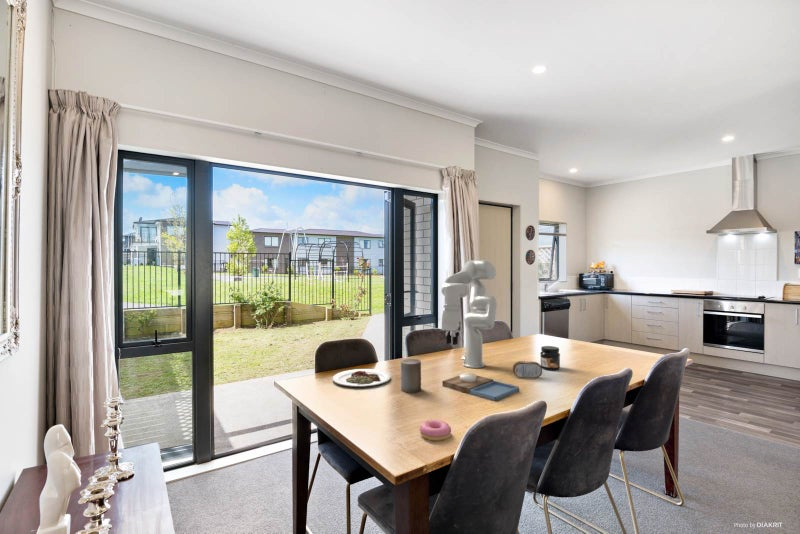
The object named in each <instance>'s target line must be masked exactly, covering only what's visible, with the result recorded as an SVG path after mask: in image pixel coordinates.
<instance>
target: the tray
mask: <svg viewBox="0 0 800 534" xmlns="http://www.w3.org/2000/svg"><path fill="white" fill-rule="evenodd" d="M518 392H520V387H519V386H518V385H517V386H516V385H514V384H510V383H504V382H501V381H497V380H493V381H491V382H489V383H486V384H483V385H481V386H478V387H475V388H473V389H470V394H469V395H471V396H475V397H480V398H482V399H486V400H489V401H493V402H498V401H499V400H502V399H504V398H506V397H509V396H511V395H514V394H516V393H518Z"/></svg>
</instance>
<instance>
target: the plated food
mask: <svg viewBox="0 0 800 534" xmlns="http://www.w3.org/2000/svg"><path fill="white" fill-rule="evenodd" d="M389 380H391V374H390V373H389V372H387V371H384V370H379V369H373V368H371V369H370V368H355V369H349V370H344V371H340V372H338V373H336V374H334V375H333V377H332V381H333V382H334V383H335V384H338V385H341V386H346V387H353V388H361V387H362V388H365V387H366V388H367V387H372V386H373V387H374V386H377V385H382V384H384V383H387V382H388V381H389Z"/></svg>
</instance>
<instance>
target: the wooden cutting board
mask: <svg viewBox="0 0 800 534" xmlns="http://www.w3.org/2000/svg"><path fill="white" fill-rule="evenodd" d="M475 375H476V374H475ZM491 381H494V379H493V378H489V377H485V376H482V375H481V376H480V375H476V382H472V383H466V382H462V381H460V375H457V376H453V377H450V378H446V379H444V380H442V383H441V384H442V387H445V388H447V389H452V390H455V391H459V392H461V393H465V394H469V395H471V394H470V389H473V388H475V387H478V386H481V385H483V384H486V383H489V382H491Z"/></svg>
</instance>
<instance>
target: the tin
mask: <svg viewBox="0 0 800 534" xmlns="http://www.w3.org/2000/svg"><path fill="white" fill-rule="evenodd" d="M540 365H541V363H538V362H537V361H525V360H524V361H523V360H521V361H517V362H515V363H514V364H513V365H512V372H513V374H514V376H515V377H516V378H520V379H537V378H540V377H541V376H542V375H543V369H542V367H541V366H540Z"/></svg>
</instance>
